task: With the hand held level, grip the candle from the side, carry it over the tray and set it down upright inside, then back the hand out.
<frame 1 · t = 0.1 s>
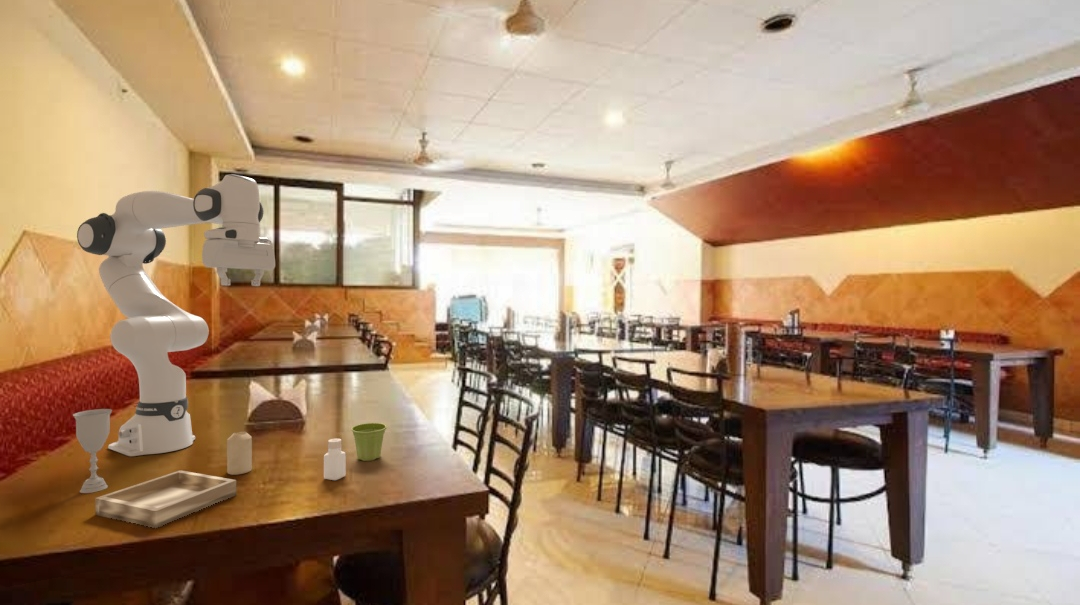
hand: (241, 285, 143), 48 cm above the table, tool pointing down, fingers open, 8 cm apart
tray: (169, 504, 115), on the table
plant pot: (369, 458, 147), on the table
chalice: (93, 489, 123), on the table
salt shaker: (334, 478, 132), on the table
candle: (239, 472, 136), on the table
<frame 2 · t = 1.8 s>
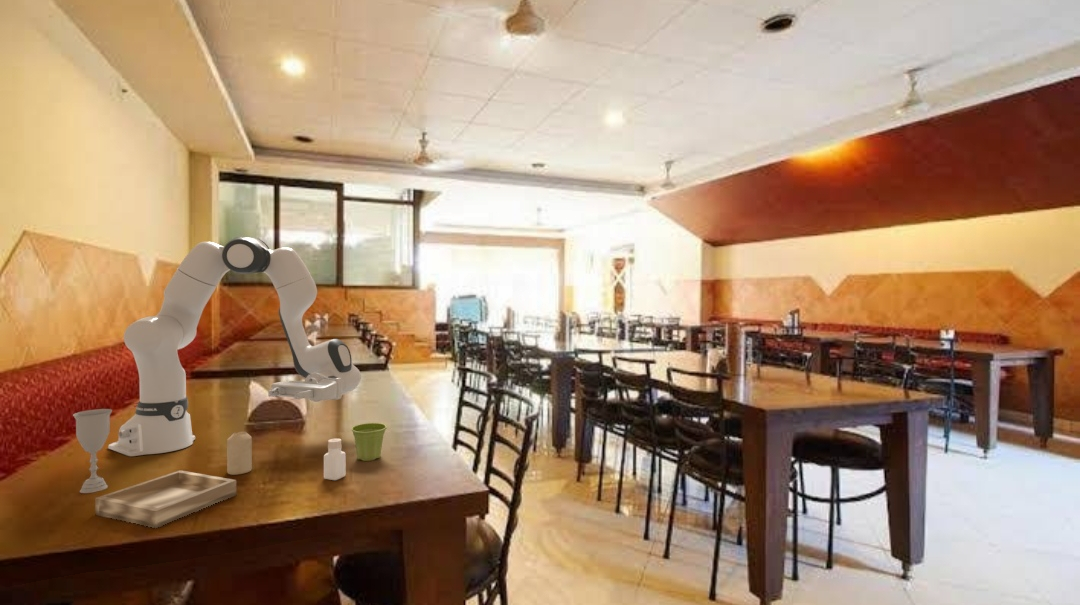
hand: (282, 395, 148), 17 cm above the table, tool horizontal, fingers open, 8 cm apart
nothing on the table moved.
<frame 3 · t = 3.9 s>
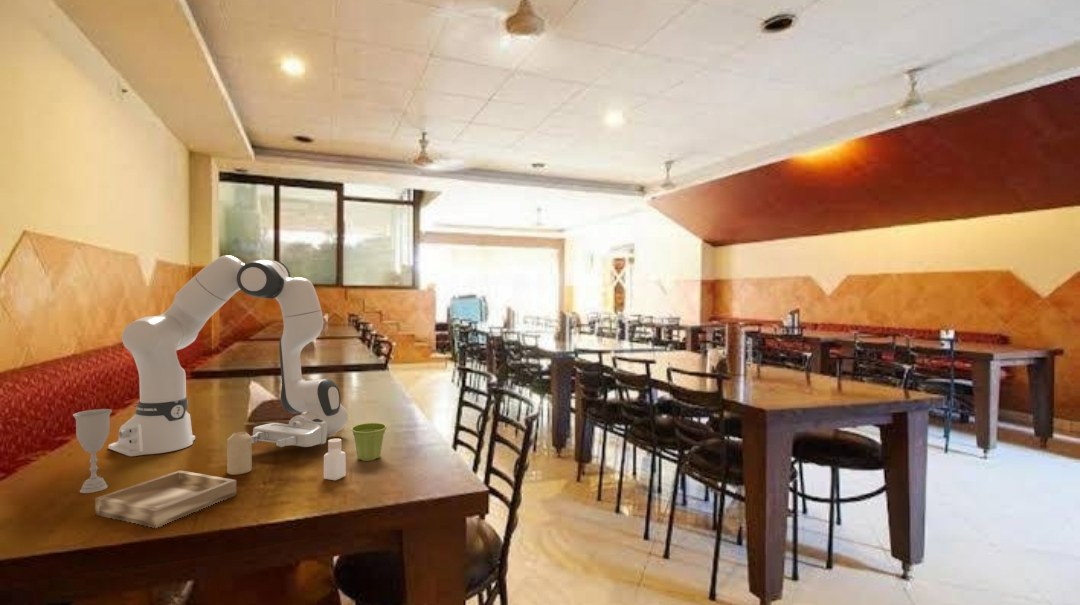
hand: (264, 442, 143), 5 cm above the table, tool horizontal, fingers open, 8 cm apart
nothing on the table moved.
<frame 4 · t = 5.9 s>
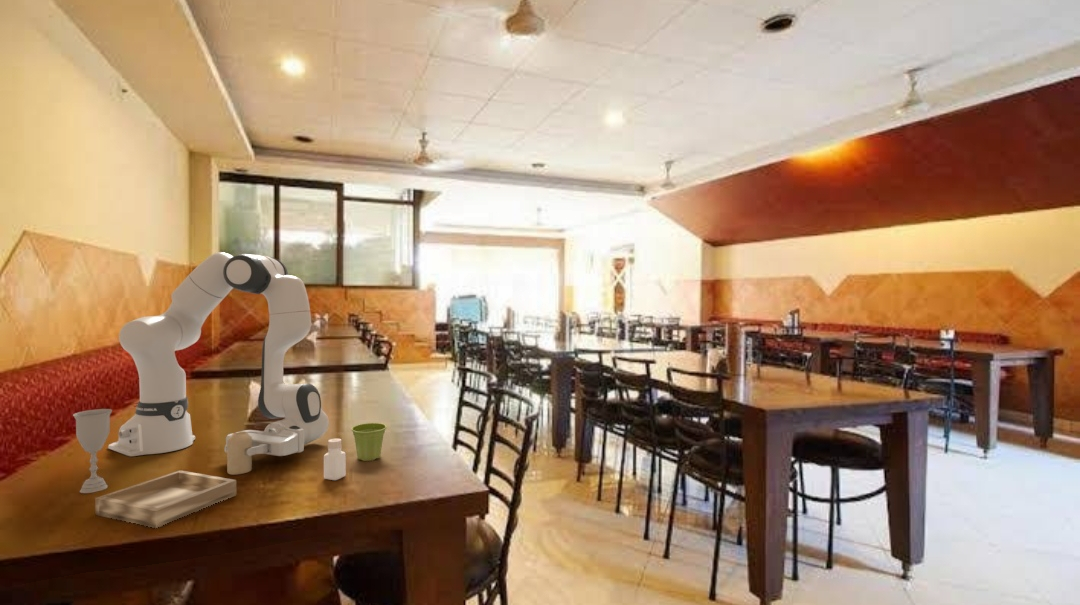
hand: (236, 450, 135), 6 cm above the table, tool horizontal, fingers closed on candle, 5 cm apart
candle: (239, 471, 136), on the table, touching gripper
everything else where it was.
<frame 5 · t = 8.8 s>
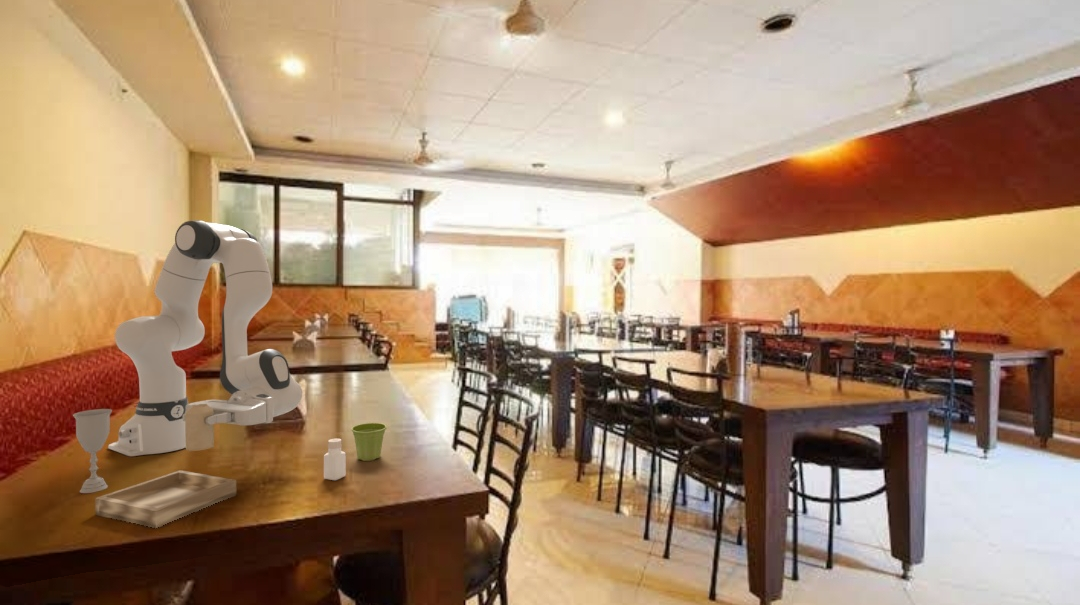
hand: (195, 419, 121), 17 cm above the table, tool horizontal, fingers closed on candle, 5 cm apart
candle: (200, 448, 122), point 10 cm above the table, touching gripper
everything else where it was.
when the fingers open (8 cm above the table, at t = 11.9 s): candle stays where it is, resting on tray.
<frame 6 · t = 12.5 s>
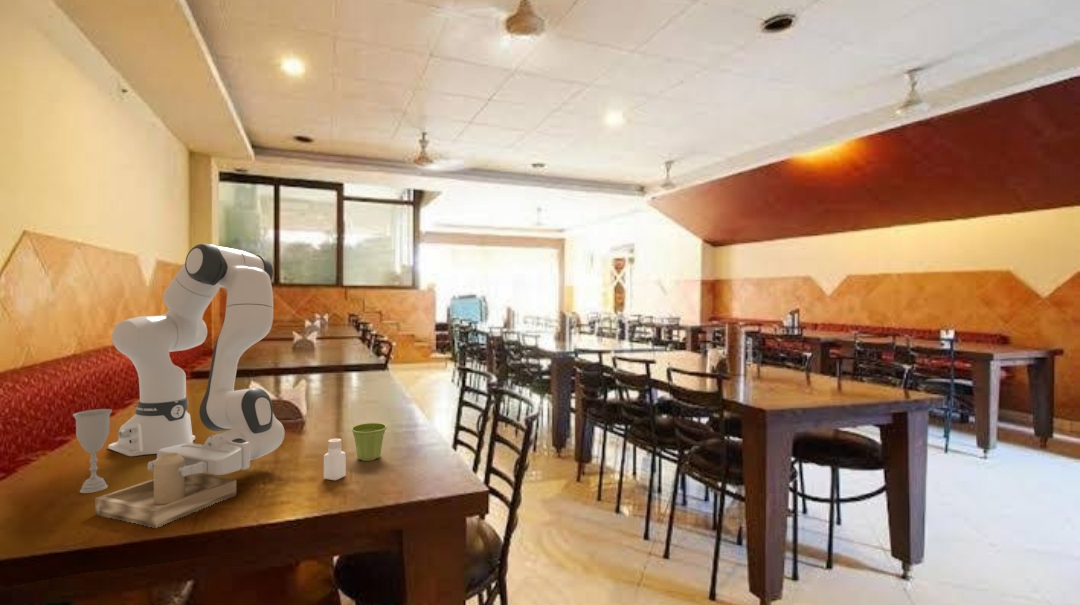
hand: (164, 469, 114), 8 cm above the table, tool horizontal, fingers open, 8 cm apart
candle: (169, 500, 115), point 1 cm above the table, touching tray
everything else where it was.
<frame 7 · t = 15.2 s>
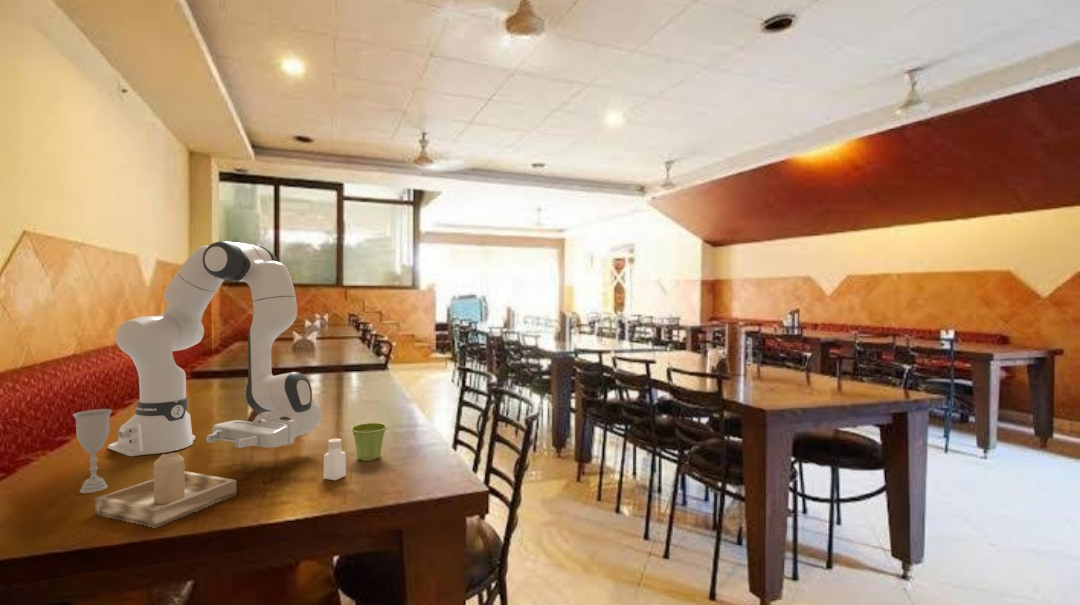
hand: (222, 441, 127), 10 cm above the table, tool horizontal, fingers open, 8 cm apart
nothing on the table moved.
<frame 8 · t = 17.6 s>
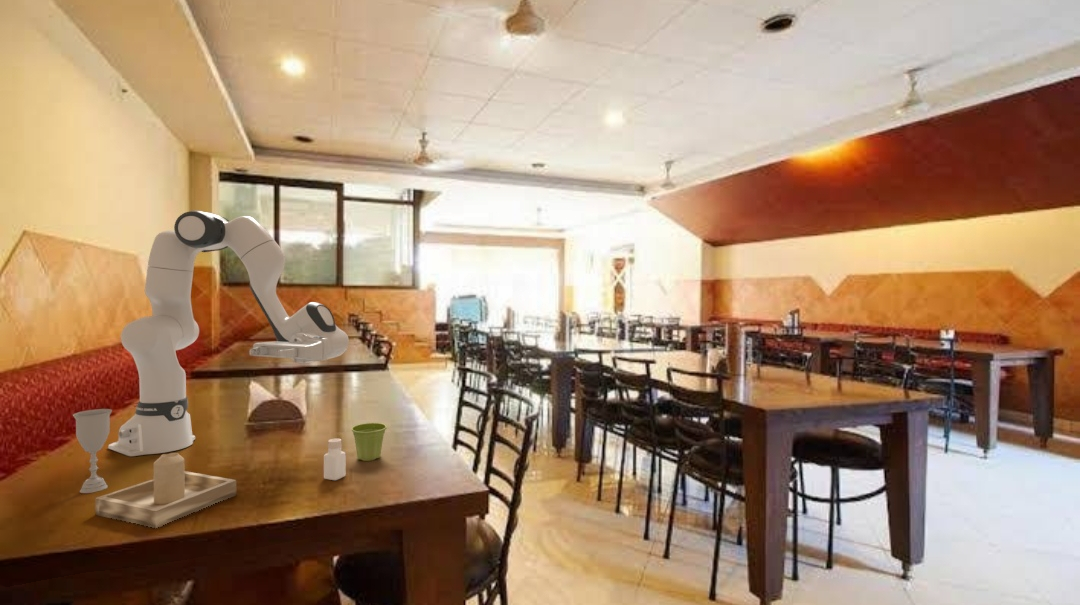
hand: (264, 353, 140), 30 cm above the table, tool horizontal, fingers open, 8 cm apart
nothing on the table moved.
at the end: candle inside the target area on the tray (0.1 cm from its centre), point 0.8 cm above the tray's base; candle tilted 0°; the gripper is holding nothing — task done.
